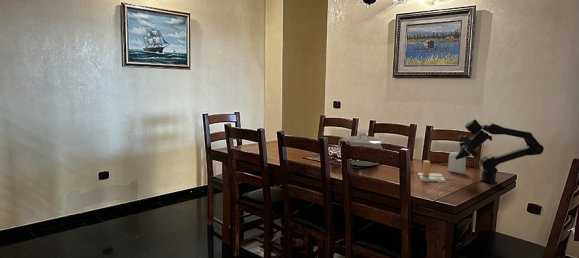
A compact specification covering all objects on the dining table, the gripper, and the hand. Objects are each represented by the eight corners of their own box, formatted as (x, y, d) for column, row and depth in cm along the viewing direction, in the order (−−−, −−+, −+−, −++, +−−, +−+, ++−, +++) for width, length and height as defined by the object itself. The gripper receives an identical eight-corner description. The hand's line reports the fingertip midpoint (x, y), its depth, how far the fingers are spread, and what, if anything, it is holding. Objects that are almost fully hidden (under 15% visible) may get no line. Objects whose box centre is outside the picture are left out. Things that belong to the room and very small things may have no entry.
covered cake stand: (392, 168, 254) (393, 136, 251) (353, 170, 245) (354, 137, 243) (370, 159, 280) (371, 130, 277) (334, 161, 272) (335, 131, 269)
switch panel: (440, 176, 235) (440, 173, 235) (445, 182, 222) (445, 179, 222) (417, 175, 238) (417, 172, 237) (421, 181, 224) (421, 178, 224)
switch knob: (427, 176, 232) (428, 160, 231) (429, 178, 228) (430, 162, 226) (422, 175, 233) (423, 160, 231) (423, 177, 228) (424, 162, 227)
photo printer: (446, 171, 249) (448, 151, 247) (450, 170, 252) (451, 151, 250) (462, 174, 241) (464, 154, 240) (466, 173, 244) (467, 153, 242)
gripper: (463, 127, 232) (442, 145, 235) (472, 132, 214) (449, 151, 217) (476, 141, 232) (455, 159, 235) (486, 147, 213) (463, 166, 217)
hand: (455, 158), depth 226 cm, fingers closed
